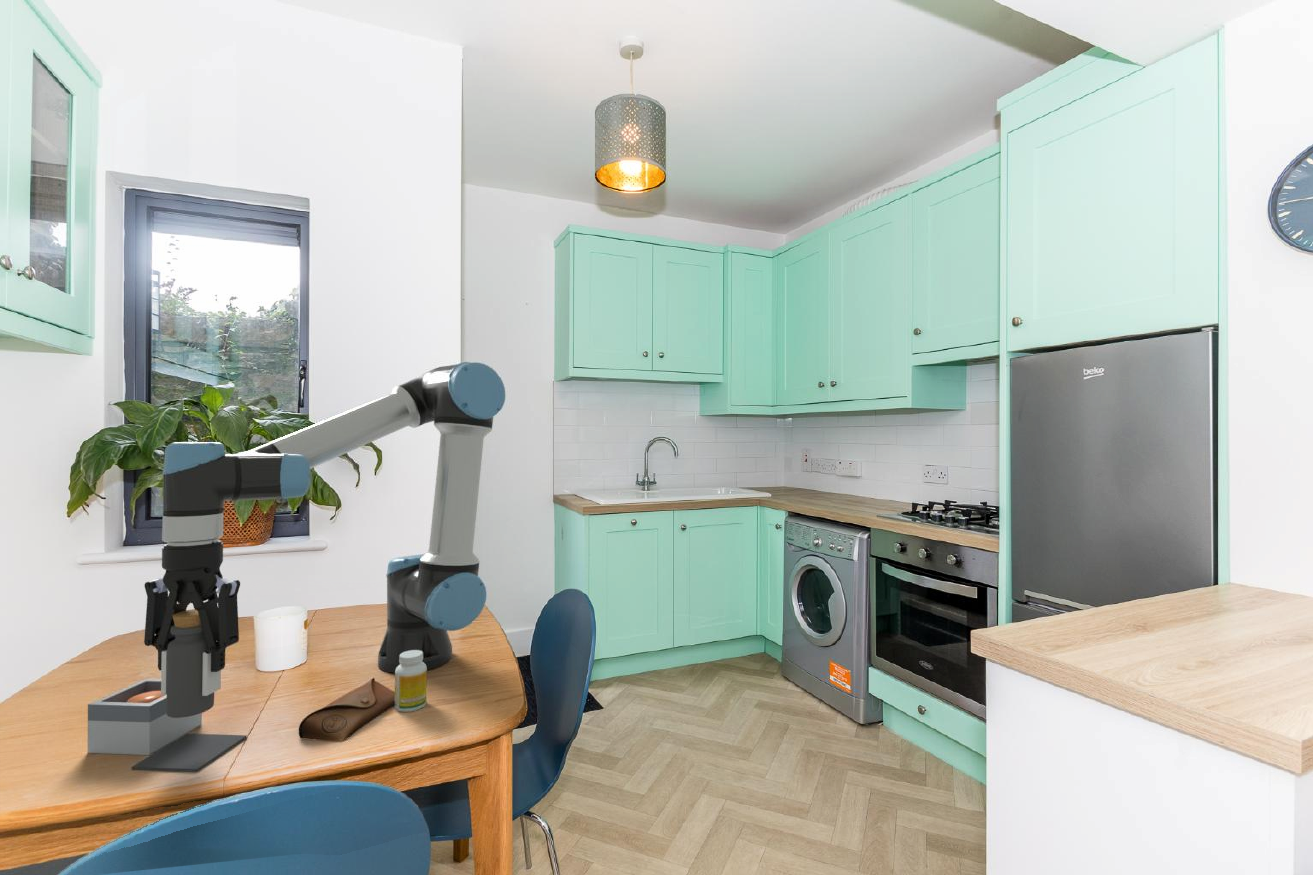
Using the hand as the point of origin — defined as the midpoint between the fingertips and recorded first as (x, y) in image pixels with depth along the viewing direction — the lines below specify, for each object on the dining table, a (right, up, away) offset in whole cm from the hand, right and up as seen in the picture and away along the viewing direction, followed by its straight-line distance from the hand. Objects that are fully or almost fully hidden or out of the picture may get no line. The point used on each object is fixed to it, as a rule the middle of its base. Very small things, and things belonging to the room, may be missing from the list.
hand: (191, 690), depth 93 cm
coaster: (0, -10, 0) cm, 10 cm away
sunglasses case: (+19, -10, +13) cm, 25 cm away
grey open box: (-11, -10, +5) cm, 15 cm away
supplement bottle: (+27, -10, +17) cm, 33 cm away
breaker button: (-11, -9, +5) cm, 15 cm away
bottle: (0, -3, 0) cm, 3 cm away
